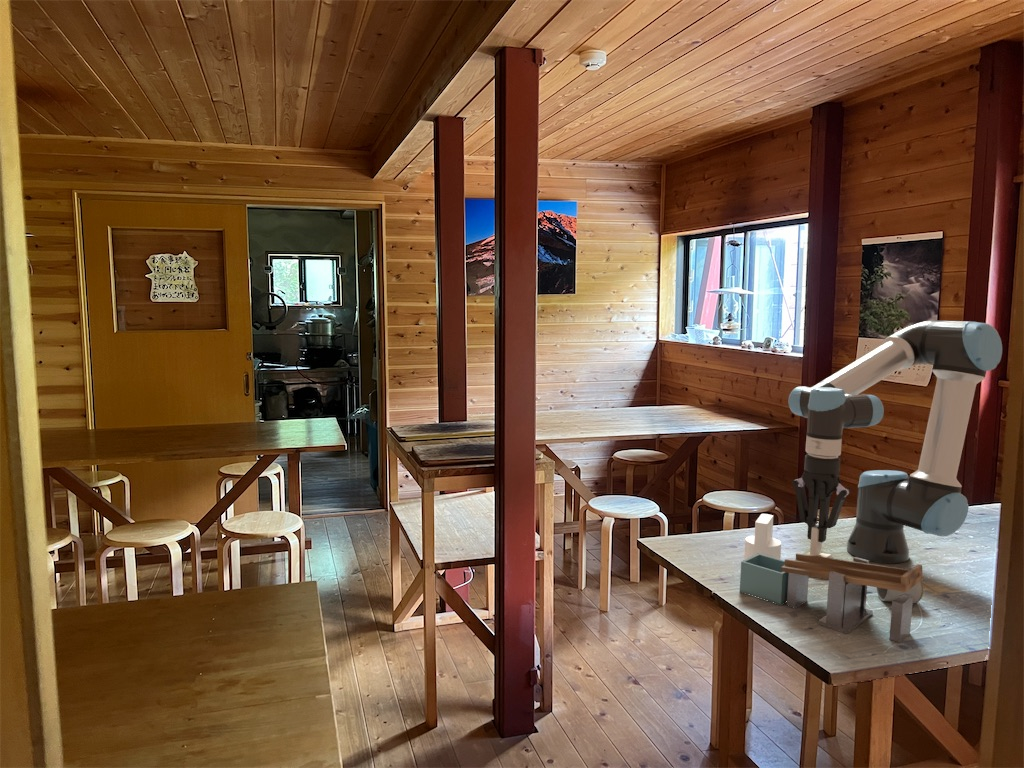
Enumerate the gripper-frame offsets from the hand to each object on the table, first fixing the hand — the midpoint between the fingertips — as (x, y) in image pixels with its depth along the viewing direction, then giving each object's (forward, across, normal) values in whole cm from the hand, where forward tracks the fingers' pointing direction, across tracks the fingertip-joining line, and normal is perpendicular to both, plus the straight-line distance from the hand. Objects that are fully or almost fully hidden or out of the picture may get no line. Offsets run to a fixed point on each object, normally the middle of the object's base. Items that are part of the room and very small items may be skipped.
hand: (815, 553), depth 172 cm
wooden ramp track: (0, +11, -5) cm, 12 cm away
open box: (+10, -7, -7) cm, 14 cm away
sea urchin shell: (+10, -6, +17) cm, 21 cm away
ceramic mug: (+10, +14, +13) cm, 21 cm away
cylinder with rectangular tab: (+10, -18, +11) cm, 24 cm away
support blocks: (+10, +11, -7) cm, 16 cm away
